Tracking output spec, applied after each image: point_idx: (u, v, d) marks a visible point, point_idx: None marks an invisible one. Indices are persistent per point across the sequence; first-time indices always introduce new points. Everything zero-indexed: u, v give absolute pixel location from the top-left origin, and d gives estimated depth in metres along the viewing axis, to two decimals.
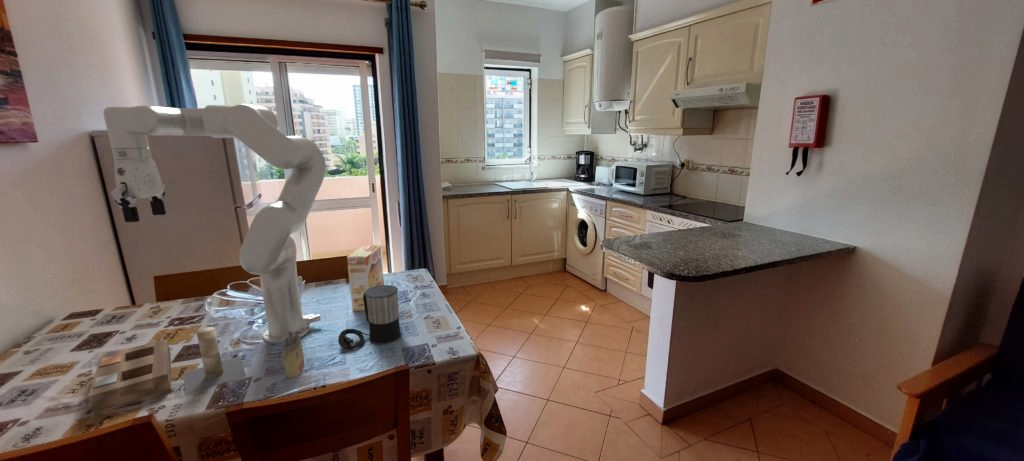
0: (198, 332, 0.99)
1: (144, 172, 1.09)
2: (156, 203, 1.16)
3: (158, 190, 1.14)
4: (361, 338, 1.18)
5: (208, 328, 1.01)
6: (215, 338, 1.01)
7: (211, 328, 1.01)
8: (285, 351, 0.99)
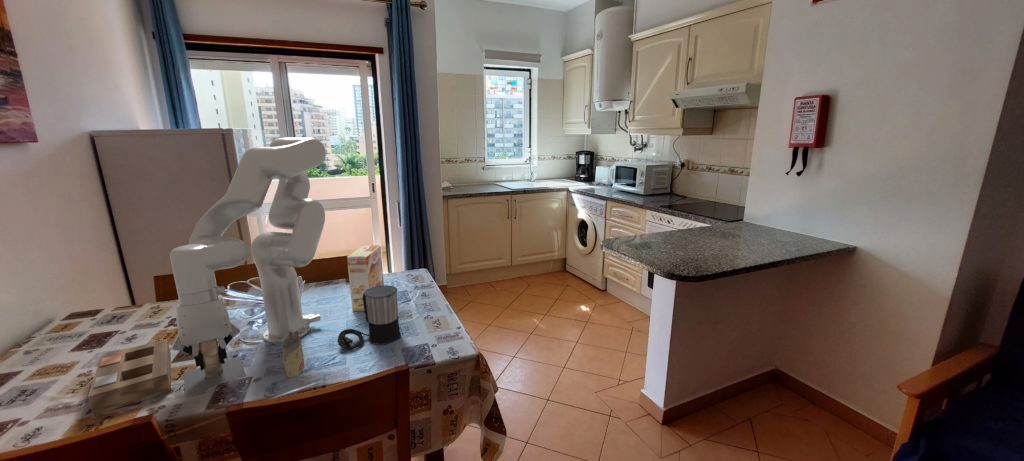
0: None
1: None
2: None
3: None
4: (360, 338, 1.18)
5: None
6: None
7: None
8: (285, 351, 0.99)
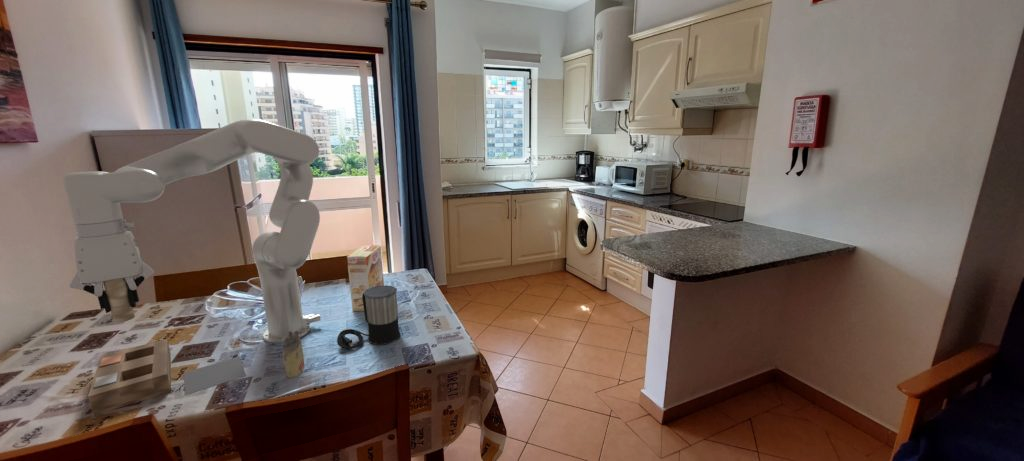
0: None
1: None
2: None
3: None
4: (360, 338, 1.17)
5: None
6: (123, 278, 0.91)
7: None
8: (285, 351, 0.99)
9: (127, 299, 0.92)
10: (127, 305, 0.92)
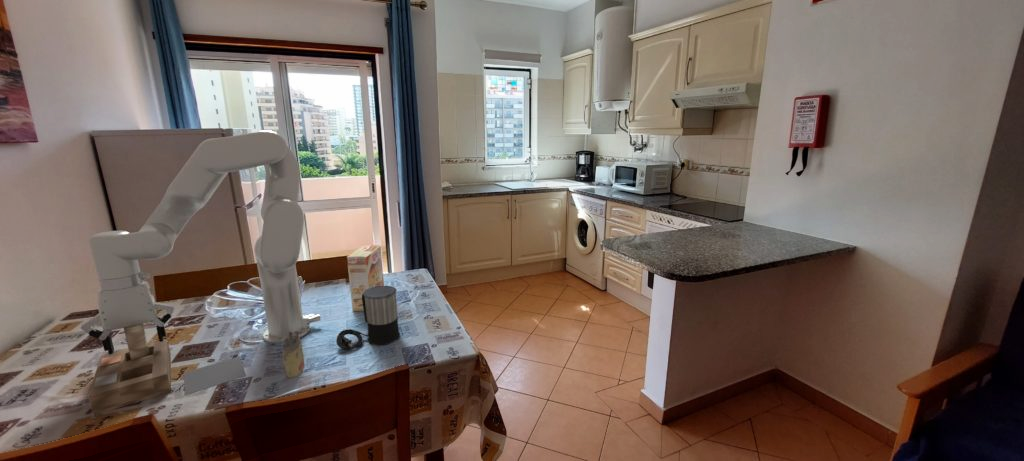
0: None
1: None
2: (110, 339, 1.00)
3: None
4: (359, 339, 1.17)
5: None
6: (143, 332, 1.03)
7: None
8: (285, 351, 0.99)
9: (146, 350, 1.04)
10: None
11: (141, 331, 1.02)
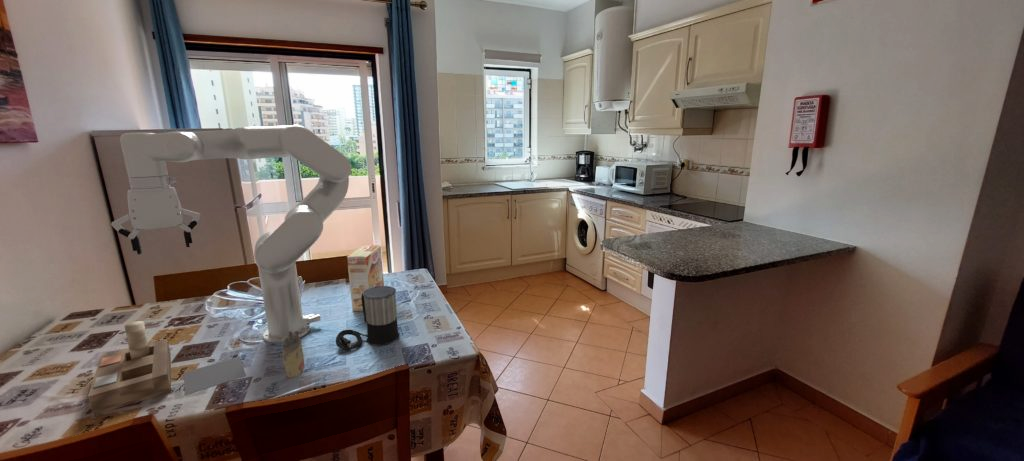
0: (126, 325, 1.01)
1: None
2: (138, 239, 1.02)
3: None
4: (359, 339, 1.17)
5: (137, 322, 1.03)
6: (144, 332, 1.03)
7: (140, 322, 1.03)
8: (285, 351, 0.99)
9: (146, 350, 1.04)
10: (146, 355, 1.04)
11: (142, 330, 1.03)
